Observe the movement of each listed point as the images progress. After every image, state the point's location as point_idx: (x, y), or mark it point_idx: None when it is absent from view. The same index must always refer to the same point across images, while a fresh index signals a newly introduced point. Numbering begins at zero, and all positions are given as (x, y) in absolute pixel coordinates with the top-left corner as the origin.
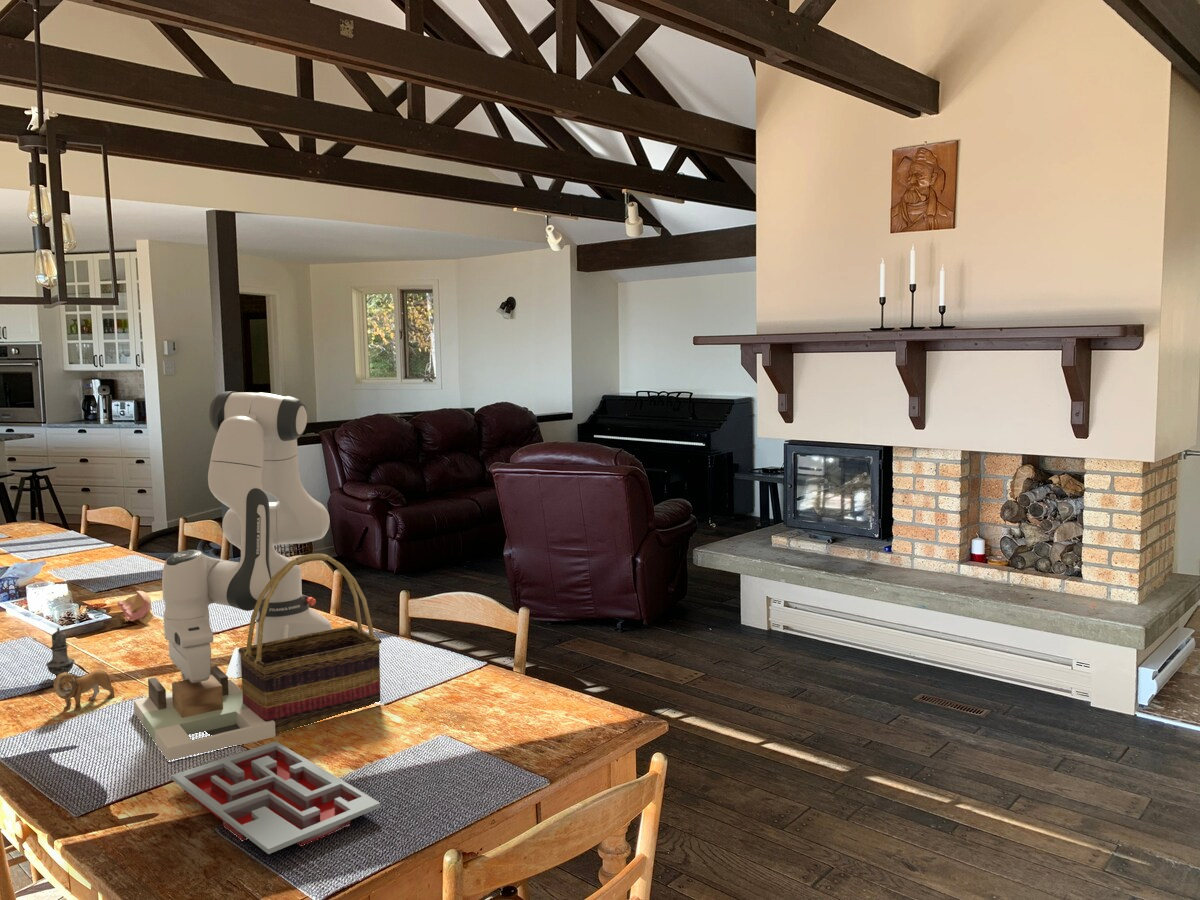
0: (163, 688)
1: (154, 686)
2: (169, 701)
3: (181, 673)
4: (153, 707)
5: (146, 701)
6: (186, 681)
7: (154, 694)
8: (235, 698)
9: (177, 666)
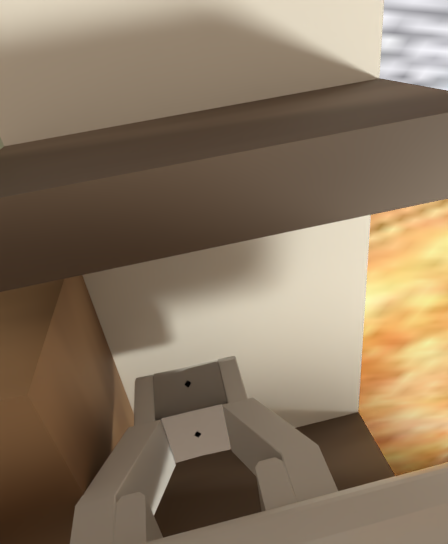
0: (22, 275)
1: (150, 173)
2: None
3: (297, 445)
4: (81, 103)
5: (272, 49)
6: (19, 501)
7: (151, 141)
8: None
9: (338, 507)
